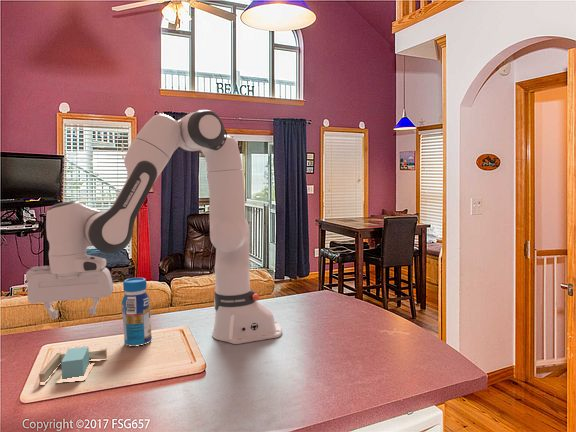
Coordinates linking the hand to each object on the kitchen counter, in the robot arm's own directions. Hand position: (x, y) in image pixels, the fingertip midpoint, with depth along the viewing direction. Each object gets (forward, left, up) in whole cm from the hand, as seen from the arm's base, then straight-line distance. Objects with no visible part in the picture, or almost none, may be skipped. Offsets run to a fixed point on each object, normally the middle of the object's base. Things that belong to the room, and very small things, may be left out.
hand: (73, 315), depth 116 cm
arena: (+1, -1, -16) cm, 16 cm away
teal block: (0, 0, -15) cm, 15 cm away
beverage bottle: (-13, -19, -16) cm, 28 cm away
